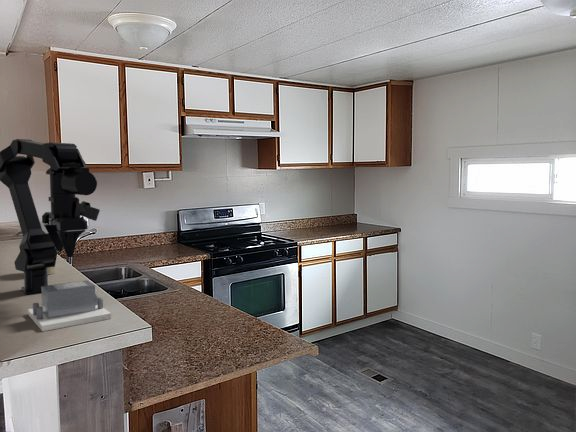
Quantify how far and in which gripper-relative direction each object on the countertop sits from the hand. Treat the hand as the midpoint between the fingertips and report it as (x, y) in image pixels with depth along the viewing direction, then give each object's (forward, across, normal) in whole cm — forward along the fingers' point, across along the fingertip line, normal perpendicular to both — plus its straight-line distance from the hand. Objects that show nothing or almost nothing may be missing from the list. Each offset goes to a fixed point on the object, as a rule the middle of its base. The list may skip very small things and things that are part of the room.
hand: (64, 254), depth 121 cm
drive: (+11, -14, +3) cm, 18 cm away
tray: (+12, -14, +3) cm, 19 cm away
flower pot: (+12, +34, -2) cm, 36 cm away
